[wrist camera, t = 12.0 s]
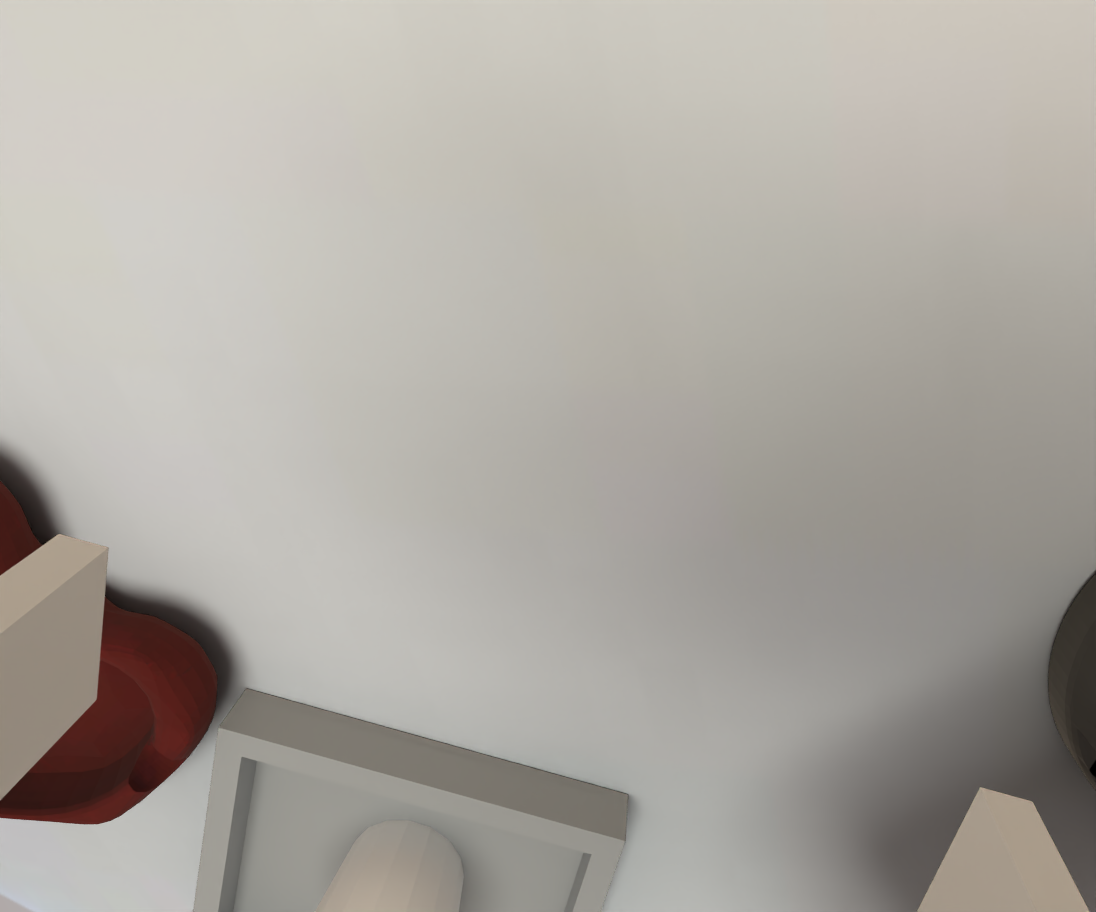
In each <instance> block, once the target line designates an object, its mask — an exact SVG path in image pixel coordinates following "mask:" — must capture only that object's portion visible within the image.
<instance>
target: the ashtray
mask: <svg viewBox="0 0 1096 912" xmlns="http://www.w3.org/2000/svg"><path fill="white" fill-rule="evenodd" d="M41 546H43V545H42V544H40V542H39V541H38V540H37V538H36V537H35V536H34V535H33V533H32V531H31V529H30V526H29V524H28V522H27V519H26V517H25V515H24V512H23V510H22V508H21V506H20V504H19V503H18V502H17V500H16V499H15V497H14V496H13V495H12V493H11V492H10V491H9V490H8V489H7V488H6V486H5V485H4V484H3V483H2V482H1V481H0V575H2V574H3V573H5V572H6V571H8V570H9V569H10V568H12V567H13V566H15V565H16V564H17V563H19V562H20V561H22V560H23V559H24V558H26V557H27V556H29V555H30V554H31V553H33V552H34V551H36V550H37V549H39V548H40V547H41ZM216 697H217V675H216V672H215V670H214V667H213V665H212V664H211V662H210V660H209V658H208V657H207V655H206V653H205V652H204V650H203V649H202V647H201V646H200V645H199V644H198V642H197V641H196V640H194V639H193V638H192V637H190V636H189V635H188V634H186V633H184V632H183V631H181V630H179V629H178V628H176V627H174V626H172V625H171V624H169V623H167V622H165V621H163V620H161V619H159V618H156V617H154V616H150V615H145V614H140V613H134V612H129V611H126V610H123V609H120V608H118V607H117V606H116V605H114V604H113V603H112V602H111V601H110V600H108V599H107V598H106V597H105V600H104V613H103V625H102V638H101V651H100V663H99V676H98V689H97V700H96V701H95V702H94V703H93V704H92V705H91V706H90V707H89V708H88V709H87V710H86V711H85V712H84V713H83V714H82V715H81V716H80V718H79V719H78V720H77V721H76V722H75V723H74V724H73V725H72V726H71V727H70V728H69V729H68V730H67V731H66V732H65V733H64V734H63V735H62V736H61V737H60V738H59V740H58V741H57V742H56V743H55V744H54V745H53V746H52V747H51V748H50V749H49V750H48V751H47V752H46V753H45V754H44V755H43V756H42V757H41V758H40V759H39V760H38V761H37V763H36V764H35V765H34V766H33V767H32V768H31V769H30V770H29V771H28V772H27V773H26V774H25V775H24V776H23V777H22V778H21V779H20V780H19V781H18V782H17V783H16V785H15V786H14V787H13V788H12V789H11V790H10V791H9V792H8V793H7V794H6V795H5V796H4V797H3V798H2V799H1V800H0V818H9V819H22V820H36V821H50V822H62V823H74V824H100V823H104V822H108V821H111V820H113V819H115V818H117V817H119V816H121V815H122V814H124V813H125V812H126V811H128V810H129V809H131V808H132V807H134V806H135V805H136V804H138V803H139V802H141V801H142V800H143V799H144V798H145V797H146V796H148V795H149V794H150V793H151V792H152V791H153V790H154V789H156V788H157V787H158V786H159V785H160V784H161V783H162V782H164V781H165V780H166V779H167V778H168V777H169V776H170V775H171V774H172V773H173V772H174V771H175V770H176V769H177V768H178V767H179V766H180V765H181V764H182V763H183V762H184V761H185V760H186V759H187V758H188V757H189V756H190V754H191V753H192V752H193V750H194V749H195V748H196V747H197V745H198V744H199V743H200V741H201V740H202V738H203V736H204V735H205V733H206V732H207V730H208V728H209V726H210V724H211V721H212V719H213V716H214V712H215V707H216Z"/></svg>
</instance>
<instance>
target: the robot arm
mask: <svg viewBox="0 0 1096 912" xmlns="http://www.w3.org/2000/svg"><path fill="white" fill-rule="evenodd" d="M108 549H109V548H108V547H105V546H101V545H97V544H94V543H90V542H87V541H83V540H79V539H76V538H72V537H68V536H65V535H61V534H58V535H57V536H55V537H54V538H53V539H51V540H50V541H48V542H47V543H46V544H44V545H43V546H41V547H40V548H39V549H37V550H36V551H34V552H33V553H31V554H30V555H29V556H27V557H26V558H24V559H23V560H22V561H20V562H19V563H17V564H16V565H15V566H13V567H12V568H10V569H9V570H8V571H6V572H5V573H3V574H2V575H0V800H1V799H2V798H3V797H4V796H5V795H6V794H7V793H8V792H9V791H10V790H11V789H12V788H13V787H14V786H15V785H16V783H17V782H18V781H19V780H20V779H21V778H22V777H23V776H24V775H25V774H26V773H27V772H28V771H29V770H30V769H31V768H32V767H33V766H34V765H35V764H36V763H37V761H38V760H39V759H40V758H41V757H42V756H43V755H44V754H45V753H46V752H47V751H48V750H49V749H50V748H51V747H52V746H53V745H54V744H55V743H56V742H57V741H58V740H59V738H60V737H61V736H62V735H63V734H64V733H65V732H66V731H67V730H68V729H69V728H70V727H71V726H72V725H73V724H74V723H75V722H76V721H77V720H78V719H79V718H80V716H81V715H82V714H83V713H84V712H85V711H86V710H87V709H88V708H89V707H90V706H91V705H92V704H93V703H94V702H95V701H96V700H97V689H98V676H99V663H100V651H101V638H102V625H103V613H104V600H105V587H106V574H107V562H108ZM1048 690H1049V700H1050V705H1051V711H1052V714H1053V718H1054V721H1055V724H1056V726H1057V729H1058V731H1059V733H1060V735H1061V737H1062V739H1063V741H1064V743H1065V745H1066V746H1067V748H1068V750H1069V751H1070V753H1071V754H1072V756H1073V758H1074V759H1075V761H1076V762H1077V764H1078V766H1079V767H1080V769H1081V770H1082V772H1083V774H1084V775H1085V777H1086V778H1087V780H1088V781H1089V782H1090V784H1091V785H1092V786H1093V788H1094V789H1095V790H1096V574H1095V575H1094V576H1093V577H1092V578H1091V580H1090V581H1089V582H1088V583H1087V584H1086V585H1085V587H1084V588H1083V589H1082V591H1081V592H1080V593H1079V595H1078V596H1077V598H1076V599H1075V601H1074V602H1073V604H1072V605H1071V607H1070V609H1069V610H1068V612H1067V614H1066V616H1065V618H1064V620H1063V622H1062V624H1061V626H1060V628H1059V631H1058V634H1057V636H1056V639H1055V642H1054V646H1053V650H1052V653H1051V659H1050V664H1049V675H1048ZM917 912H1089V910H1088V908H1087V906H1086V904H1085V902H1084V900H1083V898H1082V896H1081V894H1080V892H1079V890H1078V889H1077V887H1076V885H1075V883H1074V881H1073V879H1072V877H1071V875H1070V873H1069V871H1068V869H1067V867H1066V865H1065V863H1064V862H1063V860H1062V858H1061V856H1060V854H1059V852H1058V850H1057V848H1056V846H1055V844H1054V842H1053V840H1052V838H1051V836H1050V835H1049V833H1048V831H1047V829H1046V827H1045V825H1044V823H1043V821H1042V819H1041V817H1040V815H1039V813H1038V811H1037V810H1036V808H1035V806H1034V804H1033V802H1032V801H1029V800H1025V799H1022V798H1018V797H1014V796H1011V795H1007V794H1003V793H1000V792H996V791H992V790H989V789H985V788H982V787H980V788H979V790H978V792H977V794H976V796H975V798H974V800H973V802H972V804H971V806H970V808H969V810H968V812H967V814H966V816H965V818H964V820H963V822H962V824H961V826H960V828H959V830H958V832H957V834H956V836H955V838H954V840H953V842H952V844H951V845H950V847H949V849H948V851H947V853H946V855H945V857H944V859H943V861H942V863H941V865H940V867H939V869H938V871H937V873H936V875H935V877H934V879H933V881H932V883H931V885H930V887H929V889H928V891H927V893H926V895H925V897H924V899H923V901H922V902H921V904H920V906H919V908H918V910H917Z"/></svg>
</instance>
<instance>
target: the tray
mask: <svg viewBox="0 0 1096 912" xmlns="http://www.w3.org/2000/svg"><path fill="white" fill-rule="evenodd" d="M627 805H628V794H624V793H621V792H617V791H613V790H610V789H606V788H603V787H599V786H595V785H592V784H588V783H585V782H581V781H577V780H574V779H570V778H567V777H563V776H559V775H556V774H552V773H549V772H545V771H541V770H538V769H534V768H531V767H527V766H523V765H520V764H516V763H513V762H509V761H505V760H502V759H498V758H495V757H491V756H487V755H484V754H480V753H477V752H473V751H469V750H466V749H462V748H459V747H455V746H451V745H448V744H444V743H441V742H437V741H433V740H430V739H426V738H423V737H419V736H416V735H412V734H408V733H405V732H401V731H398V730H394V729H390V728H387V727H383V726H380V725H376V724H372V723H369V722H365V721H362V720H358V719H354V718H351V717H347V716H344V715H340V714H336V713H333V712H329V711H326V710H322V709H318V708H315V707H311V706H308V705H304V704H300V703H297V702H293V701H290V700H286V699H282V698H279V697H275V696H272V695H268V694H264V693H261V692H257V691H254V690H250V689H246V690H245V691H244V693H243V694H242V695H241V697H240V698H239V699H238V701H237V702H236V704H235V705H234V706H233V708H232V709H231V711H230V712H229V713H228V715H227V716H226V718H225V719H224V720H223V722H222V723H221V725H220V726H219V727H218V734H217V741H216V748H215V756H214V763H213V770H212V778H211V785H210V792H209V799H208V807H207V814H206V821H205V829H204V836H203V843H202V850H201V858H200V865H199V872H198V880H197V887H196V894H195V901H194V909H193V912H315V910H316V909H317V907H318V905H319V903H320V902H321V900H322V898H323V896H324V895H325V893H326V891H327V889H328V888H329V886H330V884H331V882H332V880H333V879H334V877H335V875H336V873H337V872H338V870H339V868H340V866H341V865H342V863H343V861H344V859H345V858H346V856H347V854H348V852H349V851H350V849H351V847H352V845H353V844H354V842H355V840H356V839H357V838H358V837H359V836H360V835H361V834H362V833H363V832H364V831H365V830H366V829H367V828H368V827H371V826H374V825H376V824H379V823H382V822H384V821H387V820H409V821H413V822H416V823H419V824H422V825H425V826H428V827H431V828H433V829H434V830H435V831H437V832H438V833H439V834H441V835H442V836H444V837H445V838H446V839H448V840H449V841H450V842H451V844H452V845H453V847H454V848H455V850H456V851H457V853H458V854H459V856H460V857H461V862H462V868H463V873H464V879H463V886H462V893H461V900H460V907H459V912H601V910H602V907H603V904H604V901H605V898H606V896H607V893H608V890H609V887H610V884H611V881H612V878H613V875H614V872H615V870H616V867H617V864H618V861H619V858H620V855H621V852H622V849H623V847H624V844H625V839H626V822H627Z"/></svg>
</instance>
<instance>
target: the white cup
mask: <svg viewBox="0 0 1096 912" xmlns="http://www.w3.org/2000/svg"><path fill="white" fill-rule="evenodd" d="M463 879H464V873H463V868H462V862H461V857H460V856H459V854H458V853H457V851H456V850H455V848H454V847H453V845H452V844H451V842H450V841H449V840H448V839H446V838H445V837H444V836H442V835H441V834H439V833H438V832H437V831H435V830H434V829H433V828H431V827H428V826H425V825H422V824H419V823H416V822H413V821H409V820H387V821H384V822H382V823H379V824H376V825H374V826H371V827H368V828H367V829H366V830H365V831H364V832H363V833H362V834H361V835H360V836H359V837H358V838H357V839H356V840H355V842H354V844H353V845H352V847H351V849H350V851H349V852H348V854H347V856H346V858H345V859H344V861H343V863H342V865H341V866H340V868H339V870H338V872H337V873H336V875H335V877H334V879H333V880H332V882H331V884H330V886H329V888H328V889H327V891H326V893H325V895H324V896H323V898H322V900H321V902H320V903H319V905H318V907H317V909H316V910H315V912H459V907H460V900H461V893H462V886H463Z"/></svg>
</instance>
